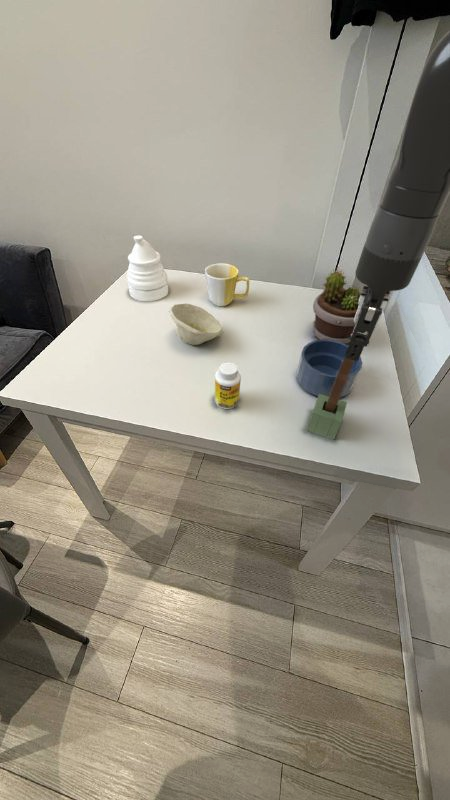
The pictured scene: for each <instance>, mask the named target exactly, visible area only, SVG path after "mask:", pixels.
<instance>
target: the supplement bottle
mask: <svg viewBox="0 0 450 800" xmlns="http://www.w3.org/2000/svg"><path fill="white" fill-rule="evenodd" d="M241 381H242V375H241V373H240V371H239V367H238V365H237V364H235V363H234V362H232V361H231V362H230V361H227V362H223V363H221V364H220V365H219V366H218V370H217V371H216V372H215V375H214V402H215V404H216V405H217V406H218V407H219V408H221V409H224V410H228V409H229V410H230V409H233V408H235V407H236V406H237V405H238V404H239V402H240V393H241V391H240V390H241Z"/></svg>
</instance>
